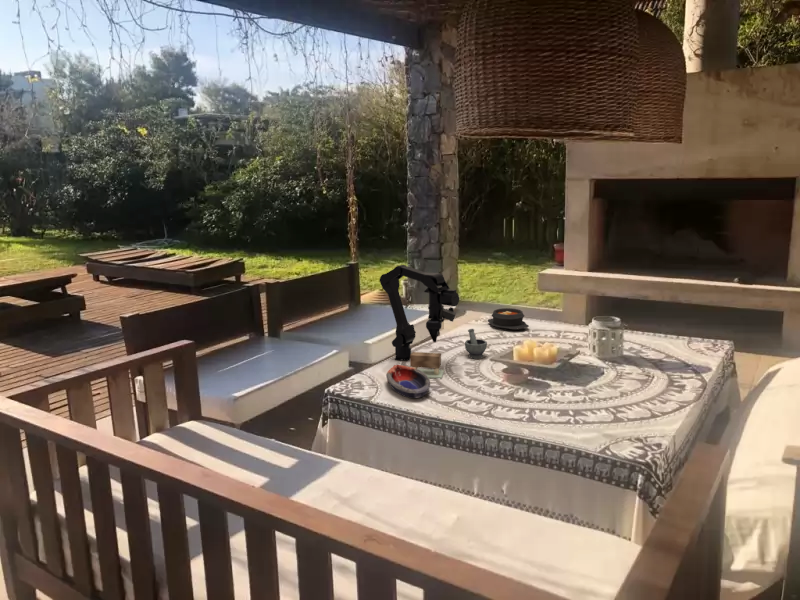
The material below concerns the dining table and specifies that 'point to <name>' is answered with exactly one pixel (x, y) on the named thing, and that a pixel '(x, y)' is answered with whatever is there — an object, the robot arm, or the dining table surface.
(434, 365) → the brown rectangular block
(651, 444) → the dining table surface
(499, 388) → the dining table surface
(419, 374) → the dish
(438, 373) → the strip
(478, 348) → the mortar and pestle
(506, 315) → the casserole
